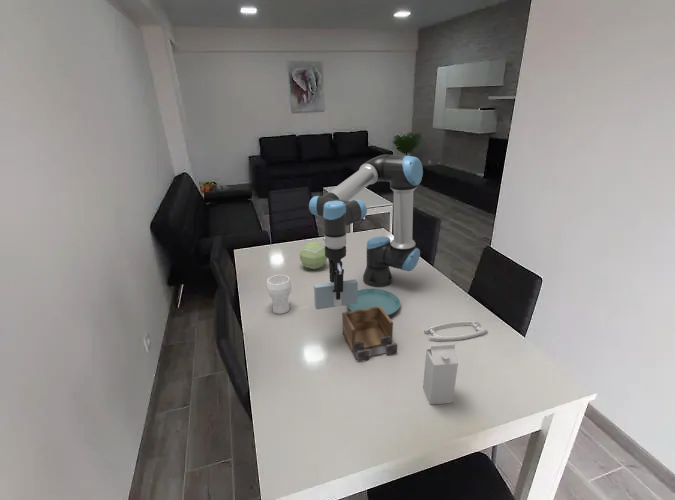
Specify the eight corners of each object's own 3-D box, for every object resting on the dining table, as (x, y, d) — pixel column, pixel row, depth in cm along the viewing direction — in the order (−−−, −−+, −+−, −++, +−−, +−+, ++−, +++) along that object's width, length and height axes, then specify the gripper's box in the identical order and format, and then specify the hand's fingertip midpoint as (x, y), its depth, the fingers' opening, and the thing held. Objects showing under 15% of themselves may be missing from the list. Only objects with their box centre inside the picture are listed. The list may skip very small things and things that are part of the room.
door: (355, 300, 135) (355, 279, 132) (357, 303, 133) (357, 282, 130) (314, 306, 131) (313, 284, 128) (316, 309, 129) (315, 287, 126)
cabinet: (379, 327, 144) (380, 306, 140) (398, 353, 129) (399, 330, 125) (342, 334, 140) (342, 312, 136) (356, 362, 125) (356, 338, 121)
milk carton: (422, 387, 113) (427, 338, 106) (444, 386, 113) (450, 336, 106) (429, 404, 106) (435, 353, 99) (452, 403, 107) (459, 352, 100)
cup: (288, 316, 153) (286, 286, 147) (265, 314, 155) (262, 284, 149) (296, 304, 162) (293, 275, 157) (274, 302, 164) (271, 273, 159)
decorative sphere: (332, 265, 201) (331, 241, 196) (317, 275, 190) (316, 249, 184) (311, 260, 209) (310, 236, 203) (295, 269, 197) (293, 244, 192)
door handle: (420, 331, 142) (476, 322, 146) (431, 346, 133) (490, 336, 137) (421, 325, 141) (477, 317, 145) (431, 340, 132) (491, 331, 136)
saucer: (338, 317, 152) (338, 310, 151) (355, 291, 173) (355, 285, 172) (394, 327, 144) (394, 320, 143) (404, 298, 166) (404, 292, 164)
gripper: (320, 239, 129) (322, 295, 138) (330, 255, 115) (331, 316, 124) (339, 237, 131) (340, 292, 140) (351, 252, 117) (352, 312, 126)
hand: (336, 303), depth 132 cm, fingers closed on door, 2 cm apart
